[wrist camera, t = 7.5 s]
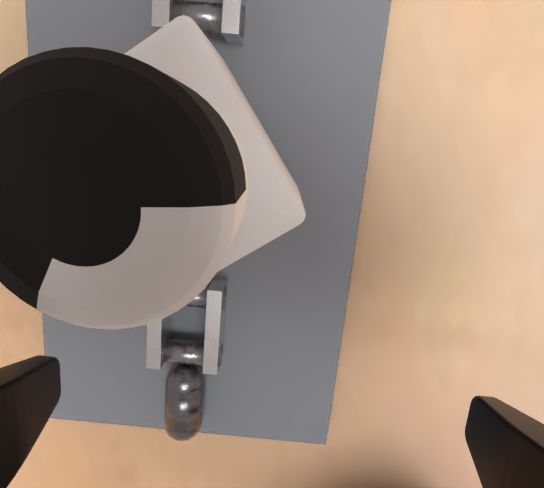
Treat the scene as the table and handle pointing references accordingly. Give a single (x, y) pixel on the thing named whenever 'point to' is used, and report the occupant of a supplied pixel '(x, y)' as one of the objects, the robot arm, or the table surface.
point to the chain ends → (191, 354)
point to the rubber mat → (270, 257)
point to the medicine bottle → (132, 178)
